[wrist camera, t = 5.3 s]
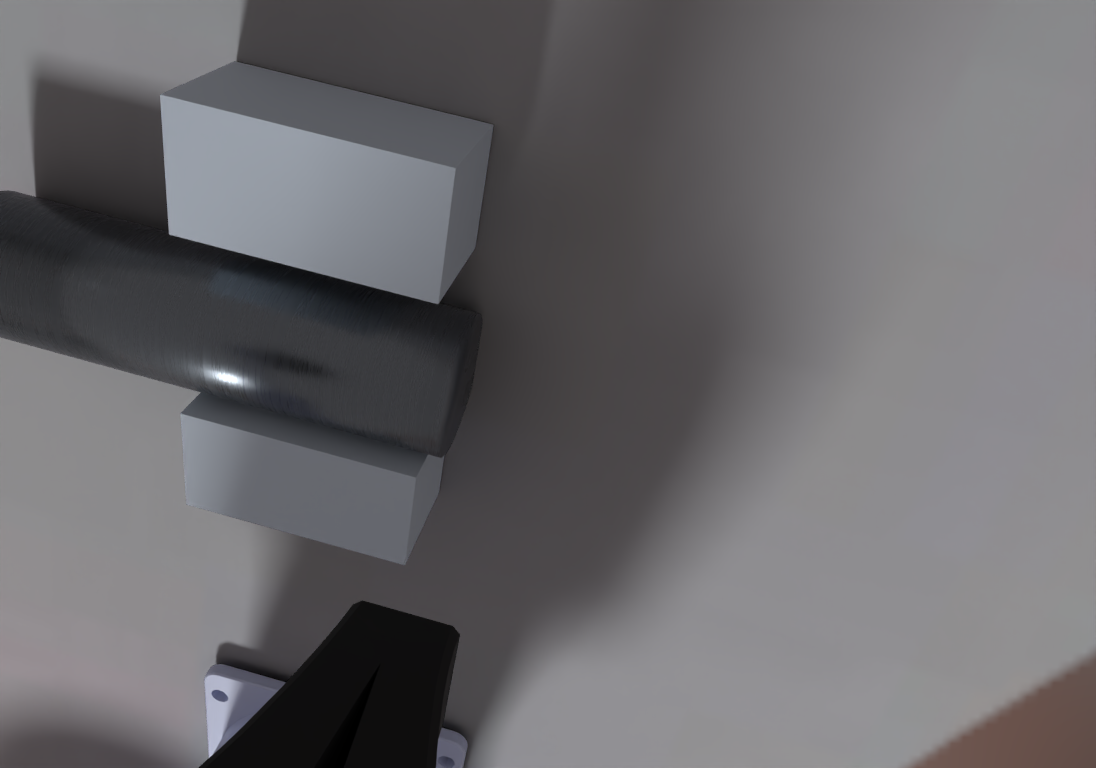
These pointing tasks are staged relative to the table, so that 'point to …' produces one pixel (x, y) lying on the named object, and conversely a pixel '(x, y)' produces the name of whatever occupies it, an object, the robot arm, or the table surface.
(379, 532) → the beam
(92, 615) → the table surface
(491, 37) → the table surface
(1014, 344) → the table surface
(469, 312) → the axle
